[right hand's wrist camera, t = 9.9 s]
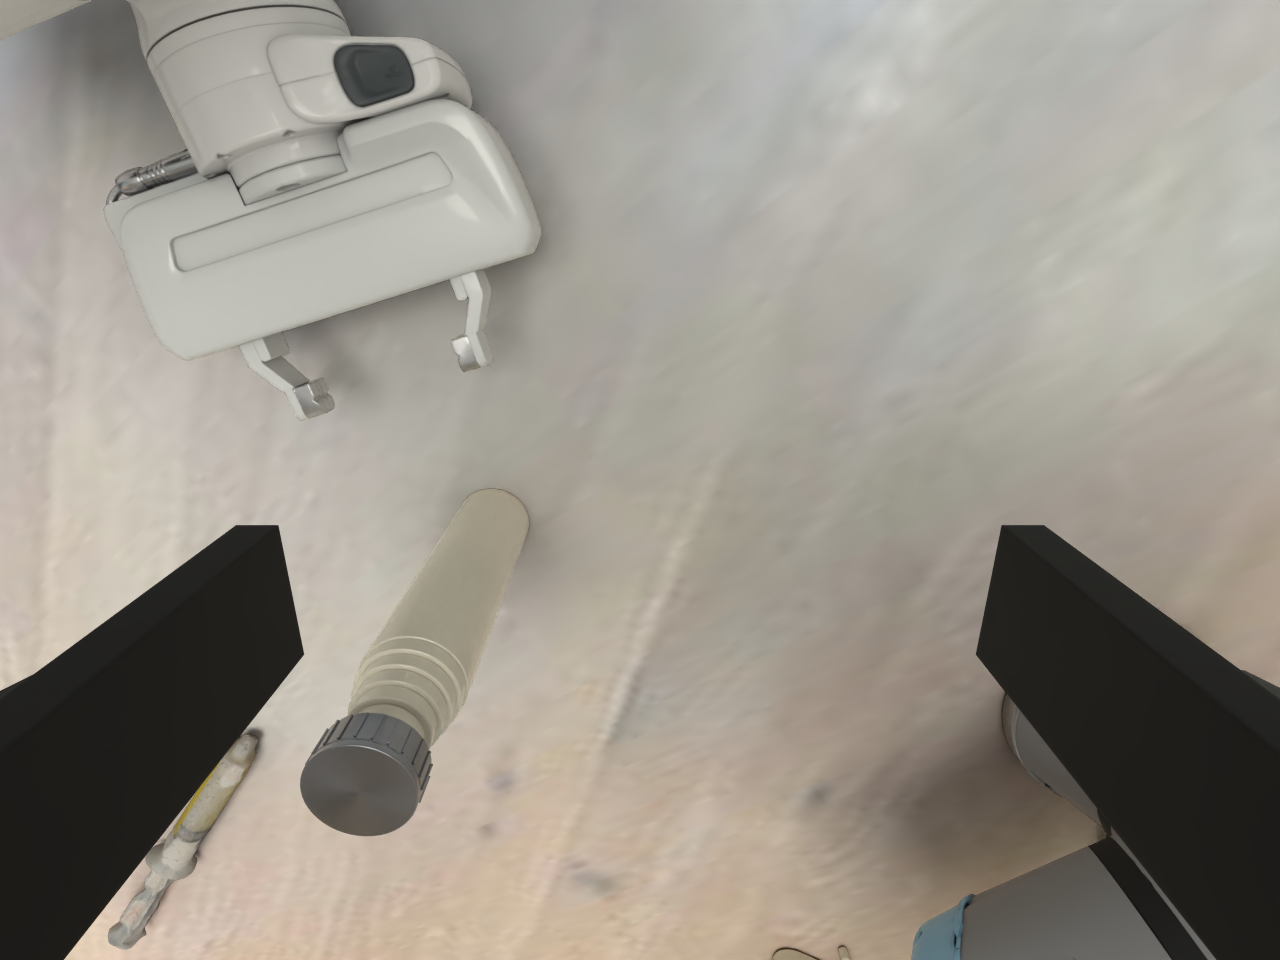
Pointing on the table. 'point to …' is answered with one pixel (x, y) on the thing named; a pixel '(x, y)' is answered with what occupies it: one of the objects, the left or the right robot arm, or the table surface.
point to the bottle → (444, 619)
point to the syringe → (184, 841)
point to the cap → (366, 774)
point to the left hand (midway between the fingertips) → (397, 391)
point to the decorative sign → (797, 959)
